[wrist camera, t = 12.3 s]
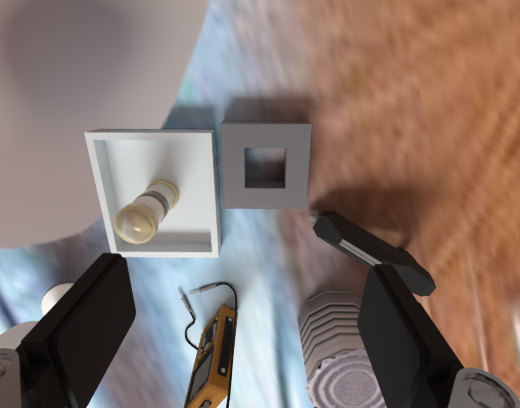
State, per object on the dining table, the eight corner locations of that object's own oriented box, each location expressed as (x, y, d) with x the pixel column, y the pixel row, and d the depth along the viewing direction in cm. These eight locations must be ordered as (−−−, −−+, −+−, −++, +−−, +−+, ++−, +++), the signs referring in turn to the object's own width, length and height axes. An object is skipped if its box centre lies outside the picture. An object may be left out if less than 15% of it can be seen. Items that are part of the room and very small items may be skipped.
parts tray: (98, 128, 34) (84, 132, 31) (215, 129, 34) (211, 133, 31) (122, 245, 40) (111, 256, 37) (221, 245, 40) (218, 257, 37)
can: (286, 334, 46) (294, 412, 35) (313, 280, 42) (331, 348, 31) (350, 351, 48) (377, 431, 36) (382, 300, 44) (423, 372, 32)
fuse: (145, 179, 36) (109, 207, 27) (177, 179, 36) (151, 207, 27) (150, 208, 37) (117, 243, 29) (180, 209, 37) (157, 244, 29)
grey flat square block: (223, 120, 34) (219, 123, 31) (307, 121, 34) (311, 124, 31) (226, 199, 37) (223, 208, 35) (302, 200, 37) (305, 209, 35)
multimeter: (192, 264, 41) (136, 407, 23) (251, 293, 43) (243, 447, 25) (151, 329, 46) (76, 491, 27) (205, 353, 48) (170, 520, 29)
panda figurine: (24, 301, 44) (-86, 399, 30) (75, 267, 42) (-19, 357, 28) (81, 349, 48) (7, 456, 34) (131, 320, 45) (74, 423, 31)
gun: (327, 198, 43) (310, 209, 34) (432, 258, 39) (443, 289, 30) (318, 213, 44) (299, 228, 35) (419, 274, 40) (426, 309, 31)
